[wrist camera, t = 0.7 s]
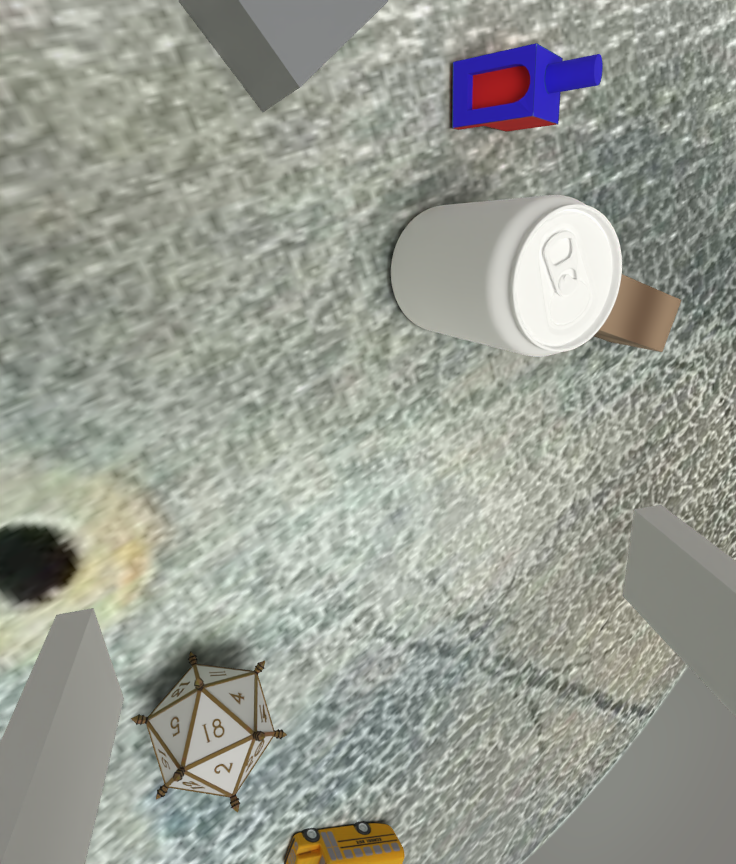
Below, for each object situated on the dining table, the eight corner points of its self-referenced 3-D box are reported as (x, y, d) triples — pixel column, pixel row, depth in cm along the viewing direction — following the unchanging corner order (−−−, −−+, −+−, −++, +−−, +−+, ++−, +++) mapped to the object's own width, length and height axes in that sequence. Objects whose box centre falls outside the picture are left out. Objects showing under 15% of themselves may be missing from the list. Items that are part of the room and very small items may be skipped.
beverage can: (410, 351, 39) (528, 389, 29) (367, 238, 36) (485, 237, 25) (500, 297, 41) (639, 316, 31) (468, 185, 38) (614, 165, 27)
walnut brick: (542, 318, 44) (592, 327, 40) (559, 267, 43) (612, 270, 39) (609, 341, 48) (662, 351, 44) (626, 294, 47) (681, 300, 43)
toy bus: (292, 828, 48) (308, 871, 45) (386, 815, 53) (407, 853, 50) (280, 859, 48) (294, 904, 45) (375, 844, 53) (394, 883, 50)
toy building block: (482, 134, 39) (604, 117, 34) (452, 128, 36) (582, 108, 31) (483, 74, 38) (610, 48, 33) (452, 61, 34) (588, 31, 30)
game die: (202, 629, 43) (296, 631, 37) (234, 736, 43) (332, 755, 37) (87, 697, 36) (181, 714, 30) (127, 824, 36) (227, 866, 30)
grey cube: (178, 1, 28) (201, -52, 23) (263, -77, 29) (304, -146, 24) (262, 112, 31) (299, 87, 26) (337, 39, 32) (388, 1, 27)
